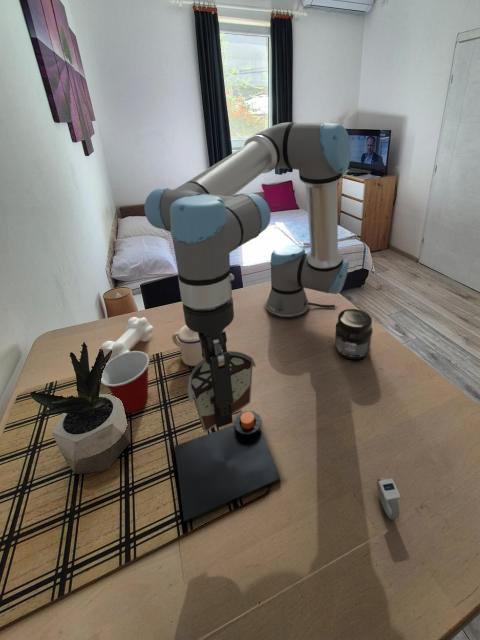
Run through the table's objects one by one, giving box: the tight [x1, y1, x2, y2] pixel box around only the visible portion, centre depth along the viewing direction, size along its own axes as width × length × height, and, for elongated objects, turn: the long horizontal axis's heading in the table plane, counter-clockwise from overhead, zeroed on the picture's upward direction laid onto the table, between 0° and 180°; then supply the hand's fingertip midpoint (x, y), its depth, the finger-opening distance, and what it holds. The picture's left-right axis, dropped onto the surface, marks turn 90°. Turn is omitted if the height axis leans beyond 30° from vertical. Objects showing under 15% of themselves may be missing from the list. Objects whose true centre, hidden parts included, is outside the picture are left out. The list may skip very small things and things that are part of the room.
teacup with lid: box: [171, 324, 204, 367], centre depth 93 cm, size 12×9×12 cm
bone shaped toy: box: [100, 316, 154, 361], centre depth 95 cm, size 15×9×8 cm, turn 170°
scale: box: [174, 410, 282, 526], centre depth 66 cm, size 18×16×3 cm
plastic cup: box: [100, 350, 150, 414], centre depth 77 cm, size 11×11×12 cm
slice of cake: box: [187, 350, 256, 433], centre depth 58 cm, size 12×6×10 cm, turn 131°
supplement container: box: [333, 308, 374, 362], centre depth 95 cm, size 10×10×12 cm
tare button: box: [241, 411, 255, 429], centre depth 71 cm, size 3×3×2 cm
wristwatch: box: [376, 476, 402, 520], centre depth 58 cm, size 6×3×5 cm, turn 9°
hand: (220, 408), depth 59 cm, fingers closed on slice of cake, 6 cm apart
